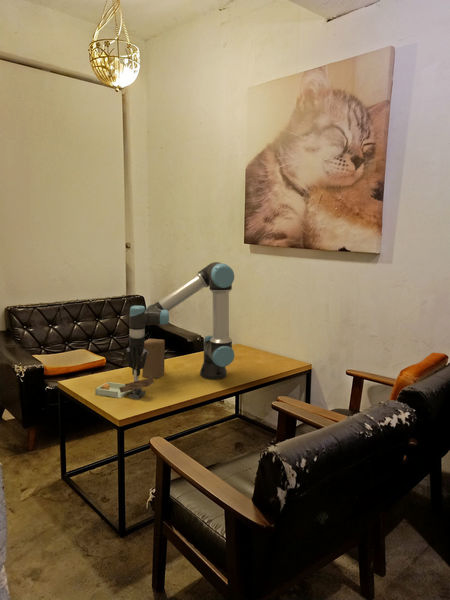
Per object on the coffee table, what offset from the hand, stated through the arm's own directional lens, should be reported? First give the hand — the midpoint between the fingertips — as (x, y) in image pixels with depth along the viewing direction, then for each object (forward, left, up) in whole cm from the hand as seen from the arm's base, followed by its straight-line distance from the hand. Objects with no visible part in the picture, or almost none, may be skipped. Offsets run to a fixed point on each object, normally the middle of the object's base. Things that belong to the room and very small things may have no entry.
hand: (136, 381), depth 232 cm
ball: (+12, +9, -2) cm, 15 cm away
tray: (+8, +9, -4) cm, 12 cm away
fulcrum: (-5, +9, -4) cm, 11 cm away
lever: (-6, +5, 0) cm, 8 cm away
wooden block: (+2, -23, -4) cm, 23 cm away
